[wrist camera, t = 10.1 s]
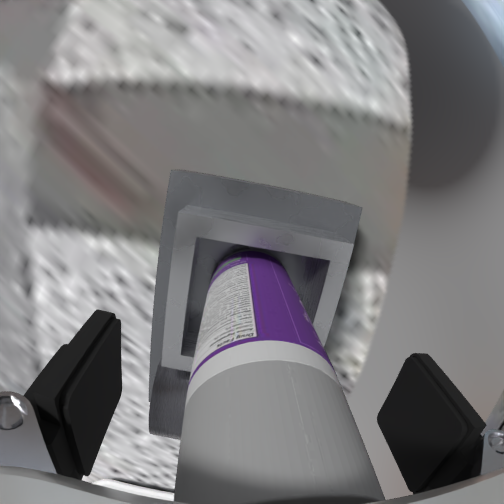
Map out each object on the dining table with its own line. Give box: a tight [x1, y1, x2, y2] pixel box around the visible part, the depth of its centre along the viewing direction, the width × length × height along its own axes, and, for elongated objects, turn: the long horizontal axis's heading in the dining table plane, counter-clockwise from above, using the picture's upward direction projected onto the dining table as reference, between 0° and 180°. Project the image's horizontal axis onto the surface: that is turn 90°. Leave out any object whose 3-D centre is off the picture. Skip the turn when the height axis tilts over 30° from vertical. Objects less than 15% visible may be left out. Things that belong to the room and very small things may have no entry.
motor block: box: [149, 170, 362, 440], centre depth 18 cm, size 16×11×8 cm
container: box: [174, 249, 385, 504], centre depth 12 cm, size 5×5×15 cm
